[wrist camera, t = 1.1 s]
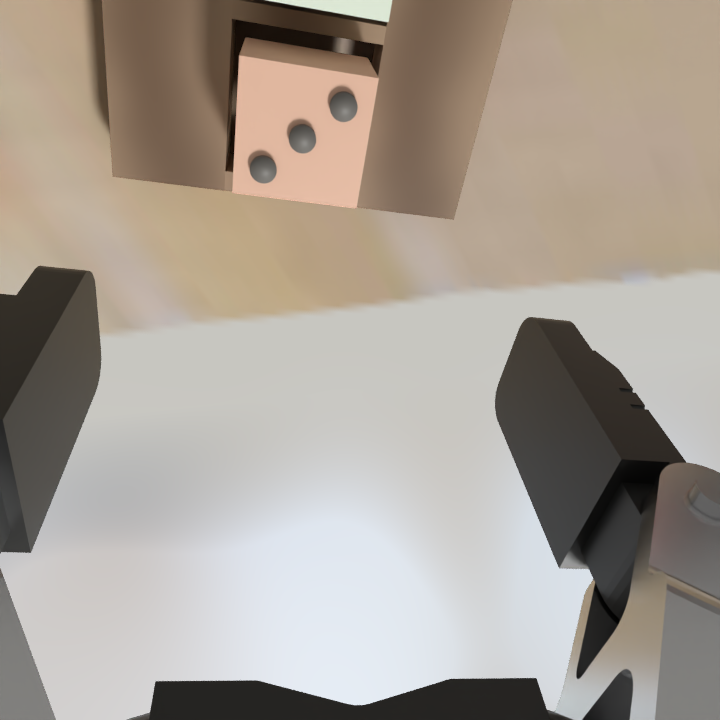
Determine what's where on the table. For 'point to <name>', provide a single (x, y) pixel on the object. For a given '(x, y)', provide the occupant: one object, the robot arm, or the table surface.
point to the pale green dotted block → (348, 7)
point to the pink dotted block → (302, 123)
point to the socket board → (249, 3)
